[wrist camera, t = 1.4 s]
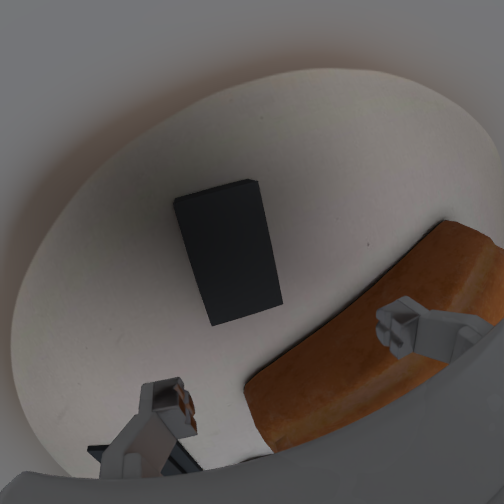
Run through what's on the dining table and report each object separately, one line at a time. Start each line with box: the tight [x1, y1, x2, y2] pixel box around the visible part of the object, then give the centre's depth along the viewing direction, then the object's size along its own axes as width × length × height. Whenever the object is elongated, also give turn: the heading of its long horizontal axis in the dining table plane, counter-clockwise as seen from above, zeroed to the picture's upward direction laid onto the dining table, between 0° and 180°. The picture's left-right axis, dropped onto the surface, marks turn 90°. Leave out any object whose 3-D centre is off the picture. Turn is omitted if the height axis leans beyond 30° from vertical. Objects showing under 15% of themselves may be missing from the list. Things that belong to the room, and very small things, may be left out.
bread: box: [244, 220, 504, 453], centre depth 23 cm, size 14×33×16 cm, turn 125°
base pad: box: [87, 439, 203, 476], centre depth 30 cm, size 18×14×2 cm
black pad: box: [173, 179, 283, 326], centre depth 22 cm, size 10×6×3 cm, turn 13°
